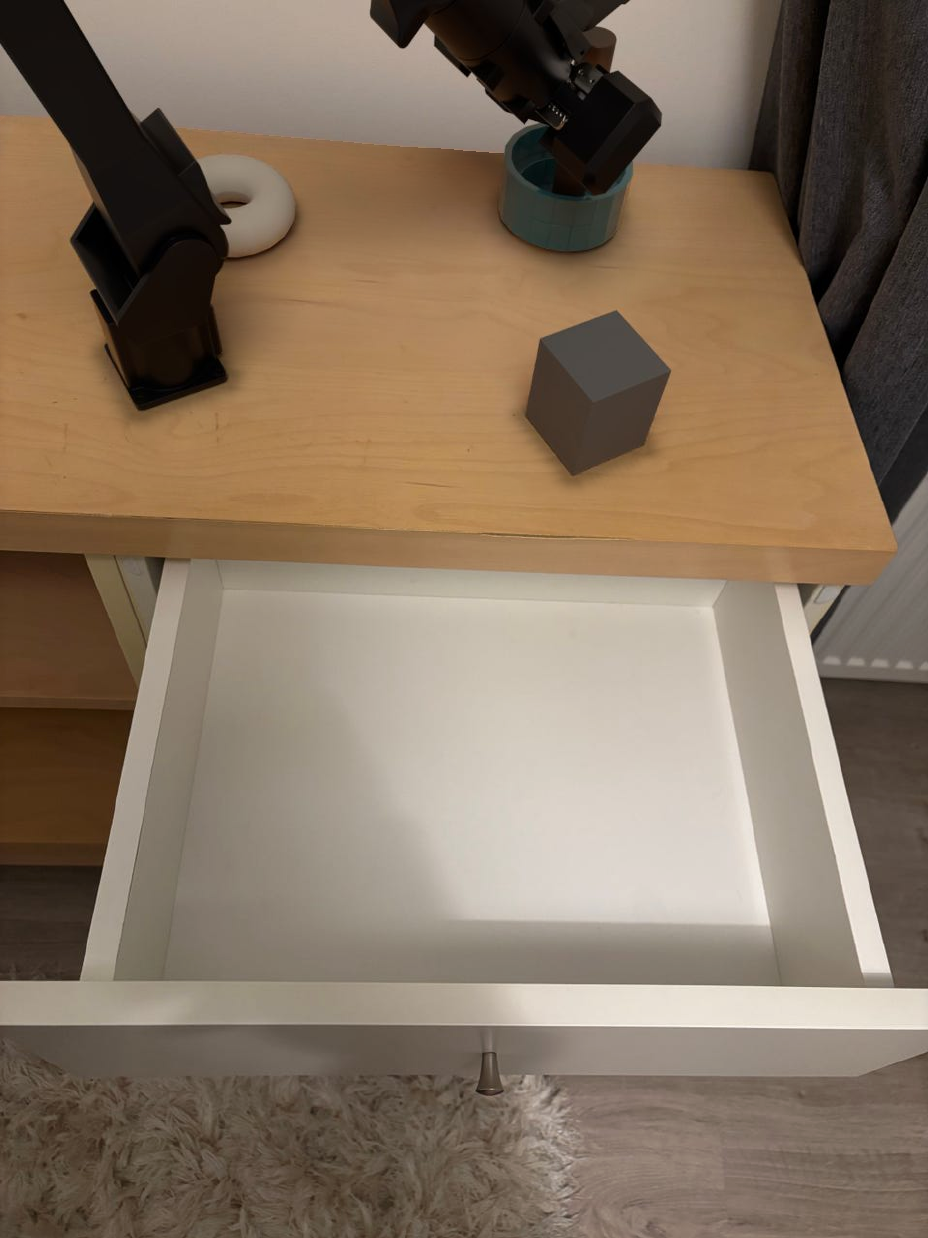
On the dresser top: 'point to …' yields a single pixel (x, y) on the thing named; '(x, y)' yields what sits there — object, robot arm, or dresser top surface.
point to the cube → (595, 391)
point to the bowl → (554, 199)
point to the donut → (250, 201)
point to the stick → (598, 53)
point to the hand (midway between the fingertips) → (592, 136)
